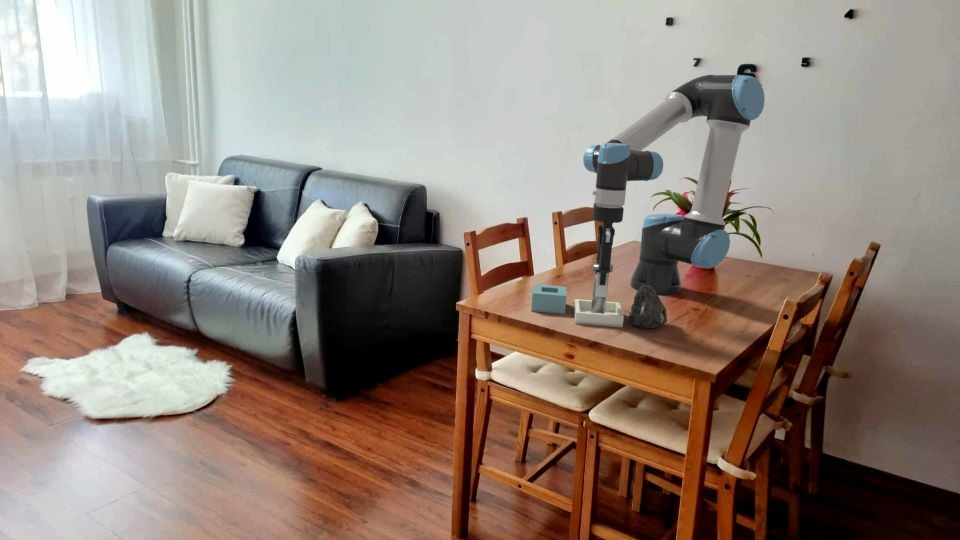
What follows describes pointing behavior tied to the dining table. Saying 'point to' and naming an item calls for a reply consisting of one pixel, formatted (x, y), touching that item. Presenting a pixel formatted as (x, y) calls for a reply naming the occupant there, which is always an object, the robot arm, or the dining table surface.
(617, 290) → the dining table surface
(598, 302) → the pin
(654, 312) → the rock
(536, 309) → the socket block
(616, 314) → the tray
